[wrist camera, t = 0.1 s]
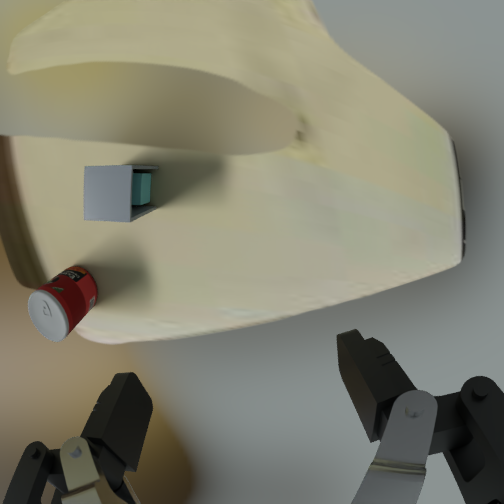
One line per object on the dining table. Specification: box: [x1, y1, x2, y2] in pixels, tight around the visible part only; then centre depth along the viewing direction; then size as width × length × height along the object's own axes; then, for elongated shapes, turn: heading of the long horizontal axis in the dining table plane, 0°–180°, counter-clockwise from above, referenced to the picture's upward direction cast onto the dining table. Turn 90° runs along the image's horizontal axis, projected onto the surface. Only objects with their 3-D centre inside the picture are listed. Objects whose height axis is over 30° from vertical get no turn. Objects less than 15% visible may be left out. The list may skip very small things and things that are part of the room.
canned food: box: [28, 267, 98, 342], centre depth 34 cm, size 8×8×11 cm
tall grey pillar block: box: [84, 165, 158, 222], centre depth 30 cm, size 6×6×10 cm
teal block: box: [132, 173, 151, 205], centre depth 33 cm, size 4×4×4 cm
